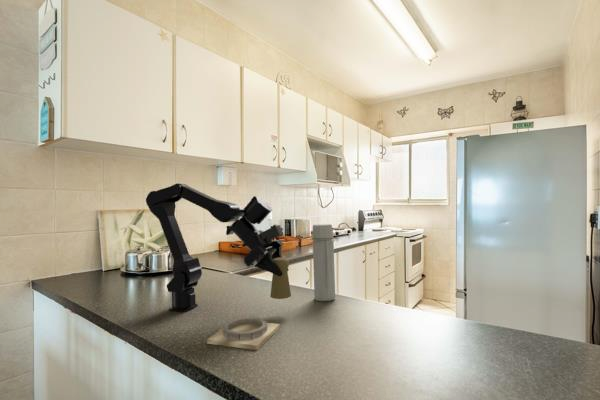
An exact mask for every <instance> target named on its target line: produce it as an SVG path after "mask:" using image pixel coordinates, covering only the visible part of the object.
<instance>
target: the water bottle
mask: <svg viewBox="0 0 600 400" xmlns="http://www.w3.org/2000/svg"><path fill="white" fill-rule="evenodd" d="M311 235H312V236H311V240H312V263H313V285H314V286H313V290H314V293H313V294H314V295H313V296H314V299H315V300H316V301H319V302H331V301H333V300H335V299H336V280H335V277H336V276H335V274H336V273H335V252H334V251H335V249H334V248H335V247H334V244H335V243H334V242H335V241H336V239H335V238H334V231H333V225H332V224H331V223H330V224H329V223H328V224H327V223H322V224H320V223H317V224H313V225H312V234H311Z"/></svg>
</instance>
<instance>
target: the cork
mask: <svg viewBox="0 0 600 400" xmlns="http://www.w3.org/2000/svg"><path fill="white" fill-rule="evenodd" d="M273 260H274V261H275V263H276V264H277V266H278V267H279V268H280V270H281V271H282V273H283V274H282V276H278V275H275V274H273V273H272V277H271V288H270V298H271V299H274V300H275V299H276V300H283V299H288V298H290V297H292V293H291V287H290V280H289V273H288V272H289V271H288V272H287V269H289V266H290V262H289V260H288V259H287V258H286V257H282V258H275V259H273Z"/></svg>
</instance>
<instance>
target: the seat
mask: <svg viewBox="0 0 600 400" xmlns="http://www.w3.org/2000/svg"><path fill="white" fill-rule="evenodd" d="M280 328H281V324H280V323H274V322H273V323H272V322H267V320H265V319H264V318H263V319H262V318H260V317H252V316H250V317H249V316H248V317H240V318H237V319H232V320H230V321H228V322H226V323H225V324H223V327H222V328H221V329H220V330H218V331H217V332H215V333H214V334H213V335H211V336H210V337H208V338H207V339H206V344H207V345H208V344H209V345H216V346H222V347H230V348H231V347H232V348H236V349H237V348H238V349H244V350H245V349H246V350H254V351H259V349H260V348H261V347H262V346H263V345H265V343H266V342H268V340H270V339H271V337H273V336H274V335H275V333H276V332H278V331H279V330H280Z"/></svg>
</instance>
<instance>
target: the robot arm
mask: <svg viewBox="0 0 600 400" xmlns="http://www.w3.org/2000/svg"><path fill="white" fill-rule="evenodd" d="M182 199H184V200H185V201H188V202H190V203H192V204H194V205H195V206H198V207H200V208H202V209H204V210H206V211H208V212H209V214H210V215H211V216H212V217H214V219H216V220H217V221H219V222H220V223H232V224H231V225H227V226H226V230H225V231H226V232H225V234H226V236H229V235H230V236H231V235H234V234H235V236H236V237H238V239H239V240H240V242H242V247H243V248H247V249H248V250H249V252H248V253H247V254H246V255H245V256H244V257H243V264H244V265H245V266H246V267H247V268H251V267H253V266H254V267H255V268H258V269H261V270H264V271H266V272H269V273H271V274H272V275H273V274H275V275H278V276H282V274H283V273H282V271H281V270H280V268H279V267H278V266H277V264H276V263H275V261H274V260H273V259H275V258H283V256H282V250H283V249H282V248H283V247H284V246H285V243H283V241H282V240H281V239H276V238H278V237H282V236H284V235H285V233H284V232H283V230H284V228H283V227H281V225H279V224H273V225H270V228H268V229H266V230H261V229H260V230H258V229H257V227H255V225H256V224H257V225H260V224H261V223H262V222H263V221H264V220H265V219H266V218H267V217H268V215H269V214H270V213H271V212H272V211H273V209H272V207H271V206H270V204H269V203H267V202H266V201H264V200H262V198H259V196H257V195H254V196H253V197H252V198H251V199H250V201H249V202H248V203H247V205H246V206H245V207H240V206H239V205H238V204H236V203H233V202H230V201H225V200H219V199H217V198H215V197H211V196H210V195H208V194H206V193H204V192H201V191H200V190H198V189H195V188H194V187H191V186H189V185H188V184H186V183H174V184H172V185H171V186H167V187H164V188H161V189H159V190H152V191H150V192H149V193H148V194H147V196H146V198H145V202H146V205H147V207H148V209H149V211H150V212H151V213H152V215H154V216H155V217H156V218H157V219H158V220H159V223H160V226H161V229H162V232H163V235H164V237H165V240H166V242H167V243H166V244H167V246H168V248H169V251H170V254H171V257H172V259H173V263H172V275H173V276H172V278H171V280H170V281H168V283H167V284H166V289H167V292H169V293H171V307H169V308H168V311H174V312H187V311H190V310H192V309H193V308H196V307H197V306H198V303H196V293H195V287H197V286H198V283H199V281H200V279H201V277H202V275H203V272H202V270H203V266H202V265H201V263H200V259H199V257H197V256H196V257H192V256H191V254H190V253H189V250H188V247H187V244H186V243H185V240H184V237H183V234H182V231H181V228H180V226H179V223H178V221H177V219H176V215H175V213H176V212H175V211H176V203H177V202H179V201H181V200H182ZM274 239H275V240H274ZM254 262H256V264H255V265H254ZM289 271H290V269H289V268H288V269H287V272H289Z"/></svg>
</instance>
